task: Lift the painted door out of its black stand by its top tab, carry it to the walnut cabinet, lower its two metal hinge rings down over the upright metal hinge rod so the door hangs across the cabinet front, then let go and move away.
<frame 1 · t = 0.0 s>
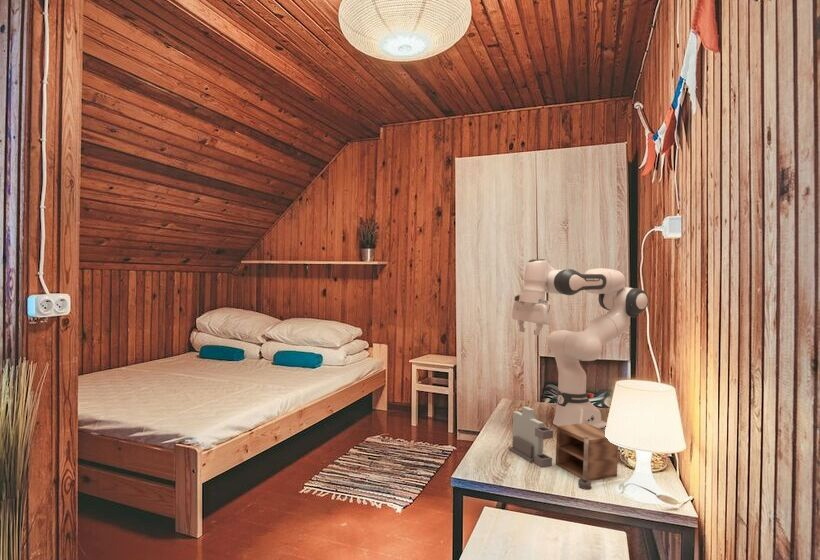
hand: (528, 333, 194), 39 cm above the table, tool pointing down, fingers open, 8 cm apart
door: (526, 454, 167), on the table, touching door stand
door stand: (526, 456, 167), on the table
cabinet: (585, 471, 156), on the table
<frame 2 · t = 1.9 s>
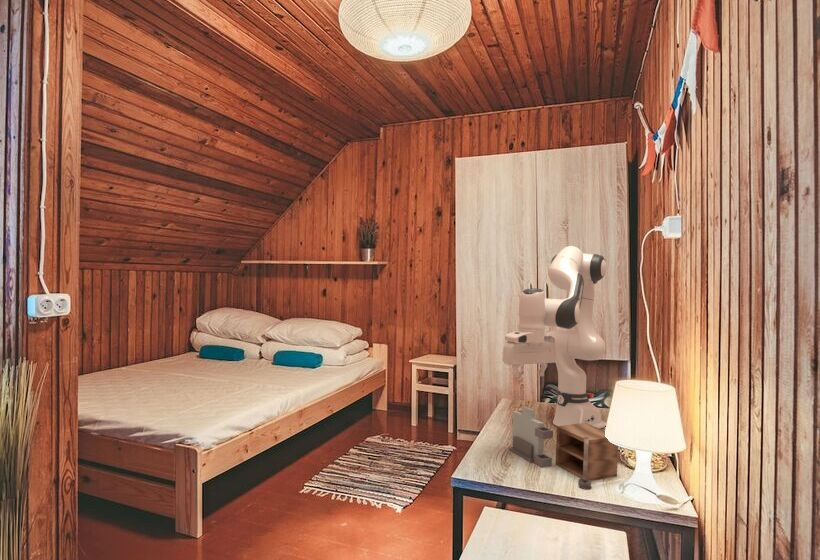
hand: (529, 376, 167), 27 cm above the table, tool pointing down, fingers open, 8 cm apart
nothing on the table moved.
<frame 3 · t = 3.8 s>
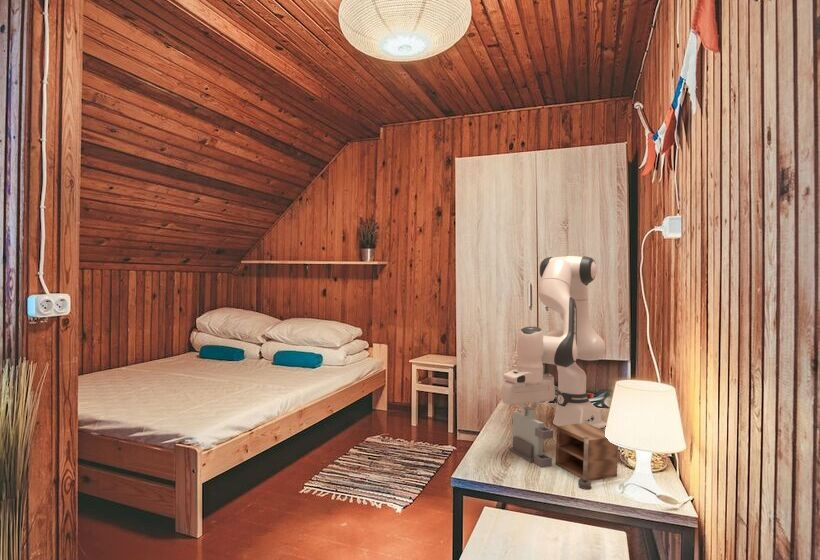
hand: (528, 415, 167), 14 cm above the table, tool pointing down, fingers closed on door, 2 cm apart
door: (526, 454, 167), point 1 cm above the table, touching door stand, gripper
everything else where it was.
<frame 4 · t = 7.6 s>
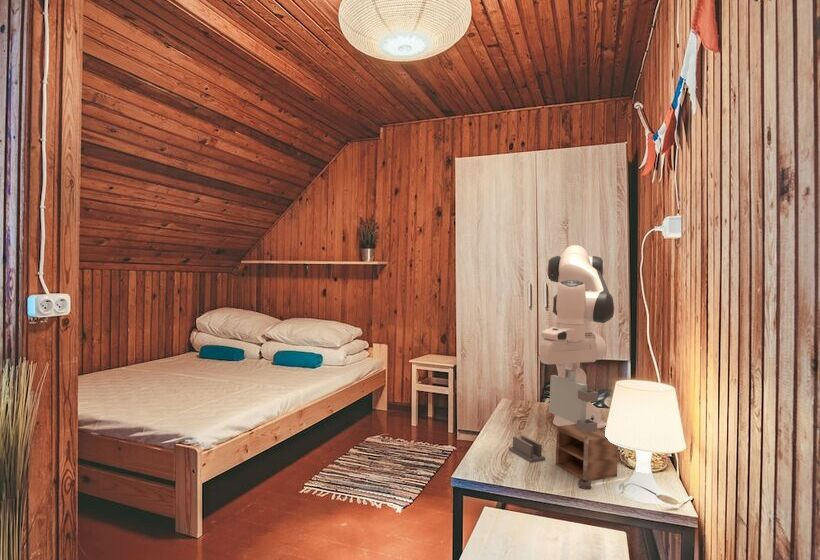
hand: (568, 377, 152), 31 cm above the table, tool pointing down, fingers closed on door
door: (566, 421, 152), point 17 cm above the table, touching gripper
everything else where it was.
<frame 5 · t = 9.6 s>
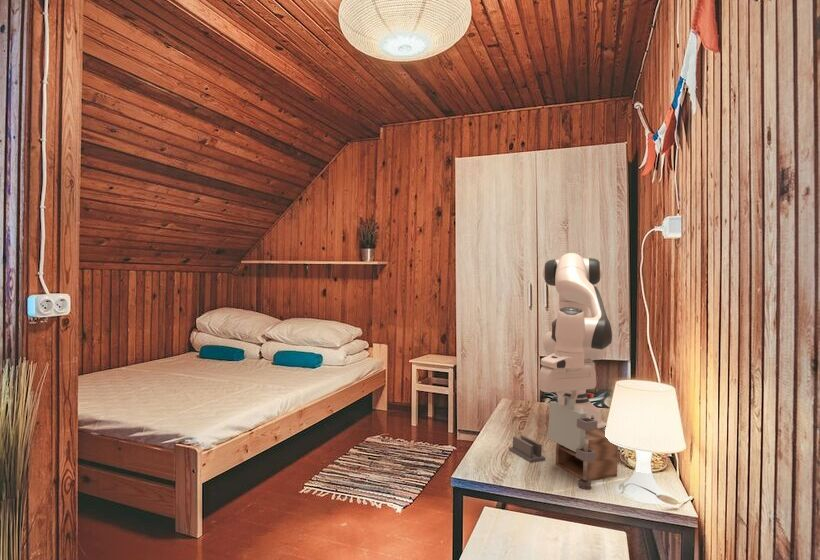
hand: (567, 404, 152), 22 cm above the table, tool pointing down, fingers closed on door
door: (565, 448, 152), point 8 cm above the table, touching gripper
everything else where it was.
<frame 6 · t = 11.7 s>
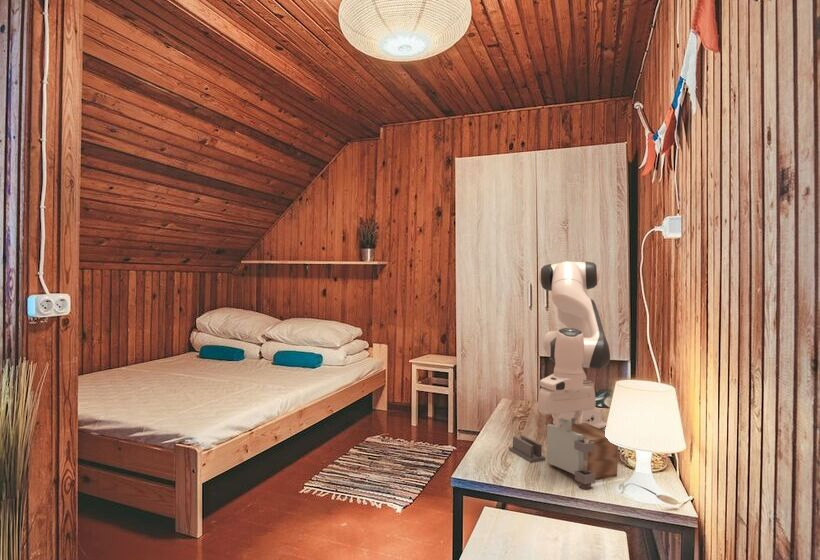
hand: (566, 425, 152), 16 cm above the table, tool pointing down, fingers open, 5 cm apart
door: (564, 471, 152), point 1 cm above the table, touching cabinet
everything else where it was.
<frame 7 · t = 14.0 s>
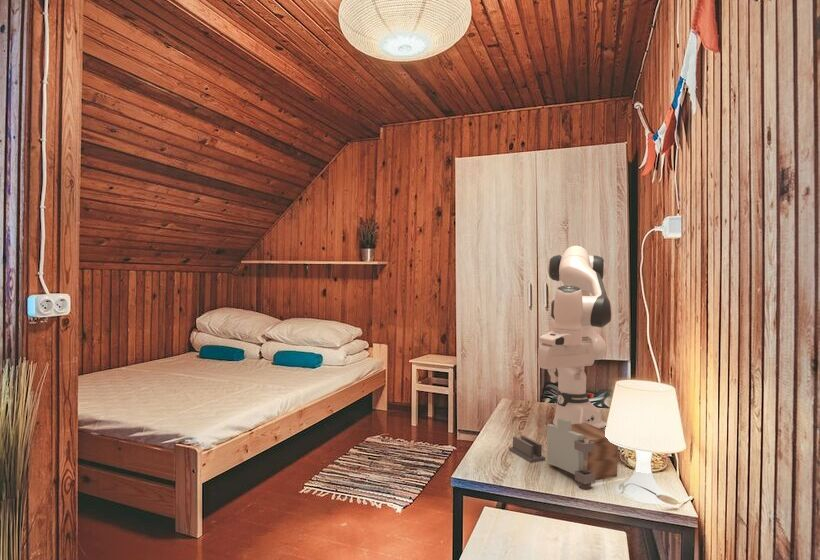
hand: (565, 381, 155), 29 cm above the table, tool pointing down, fingers open, 8 cm apart
nothing on the table moved.
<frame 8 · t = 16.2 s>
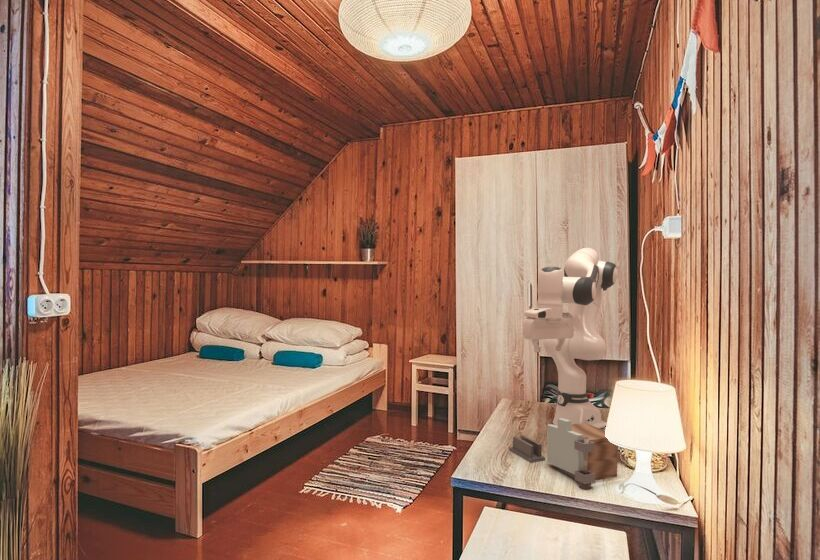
hand: (548, 351, 173), 35 cm above the table, tool pointing down, fingers open, 8 cm apart
nothing on the table moved.
at the end: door 0.1 cm from the target spot on the cabinet, point 1.0 cm above the cabinet's base; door tilted 4°; the gripper is holding nothing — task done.
